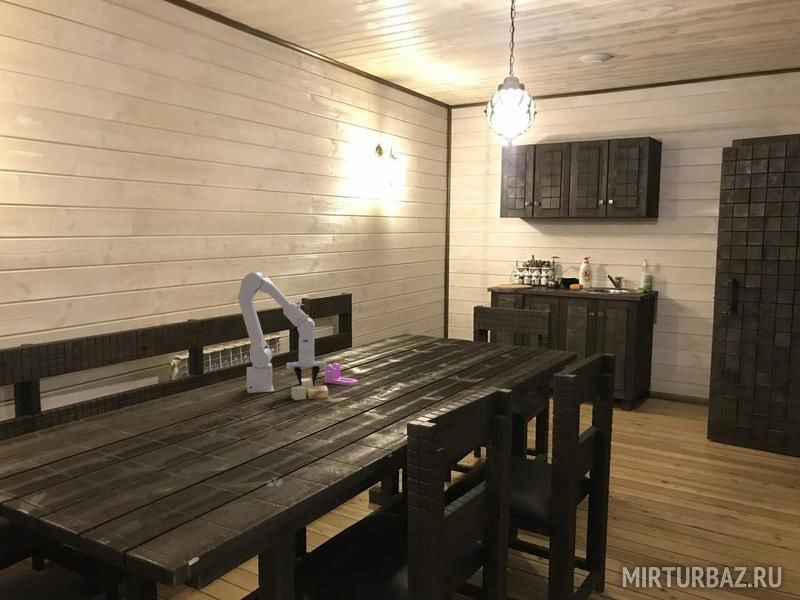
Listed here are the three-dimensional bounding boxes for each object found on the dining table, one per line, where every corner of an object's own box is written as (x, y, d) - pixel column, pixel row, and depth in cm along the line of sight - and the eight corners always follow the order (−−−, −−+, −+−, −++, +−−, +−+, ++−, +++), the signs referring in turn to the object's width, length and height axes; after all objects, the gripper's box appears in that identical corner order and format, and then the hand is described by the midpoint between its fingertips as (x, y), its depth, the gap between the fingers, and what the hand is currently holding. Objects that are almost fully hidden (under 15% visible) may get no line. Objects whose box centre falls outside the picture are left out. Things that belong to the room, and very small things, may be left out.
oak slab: (308, 399, 227) (308, 391, 226) (307, 394, 233) (306, 386, 233) (328, 398, 228) (328, 390, 228) (326, 393, 235) (326, 385, 235)
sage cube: (295, 400, 224) (295, 389, 224) (291, 397, 228) (291, 386, 227) (306, 399, 226) (306, 388, 226) (302, 396, 230) (301, 385, 229)
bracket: (324, 382, 251) (324, 365, 250) (332, 379, 256) (332, 362, 255) (352, 386, 245) (352, 368, 244) (360, 383, 250) (360, 366, 249)
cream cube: (301, 392, 235) (301, 381, 235) (300, 389, 239) (300, 378, 239) (312, 391, 236) (312, 380, 236) (311, 388, 240) (311, 378, 240)
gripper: (287, 353, 230) (288, 390, 232) (327, 352, 234) (327, 388, 236) (286, 350, 237) (286, 385, 239) (324, 348, 241) (324, 383, 242)
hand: (306, 386), depth 238 cm, fingers closed on cream cube, 4 cm apart
